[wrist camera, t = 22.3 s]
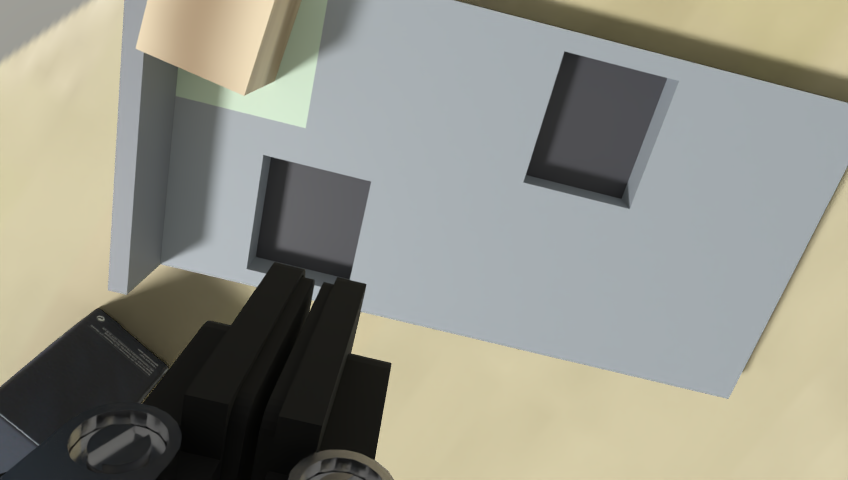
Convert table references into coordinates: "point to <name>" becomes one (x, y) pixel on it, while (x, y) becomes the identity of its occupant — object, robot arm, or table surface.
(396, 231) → the trap deck
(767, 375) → the table surface
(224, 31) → the beech block
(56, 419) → the small box
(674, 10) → the table surface
